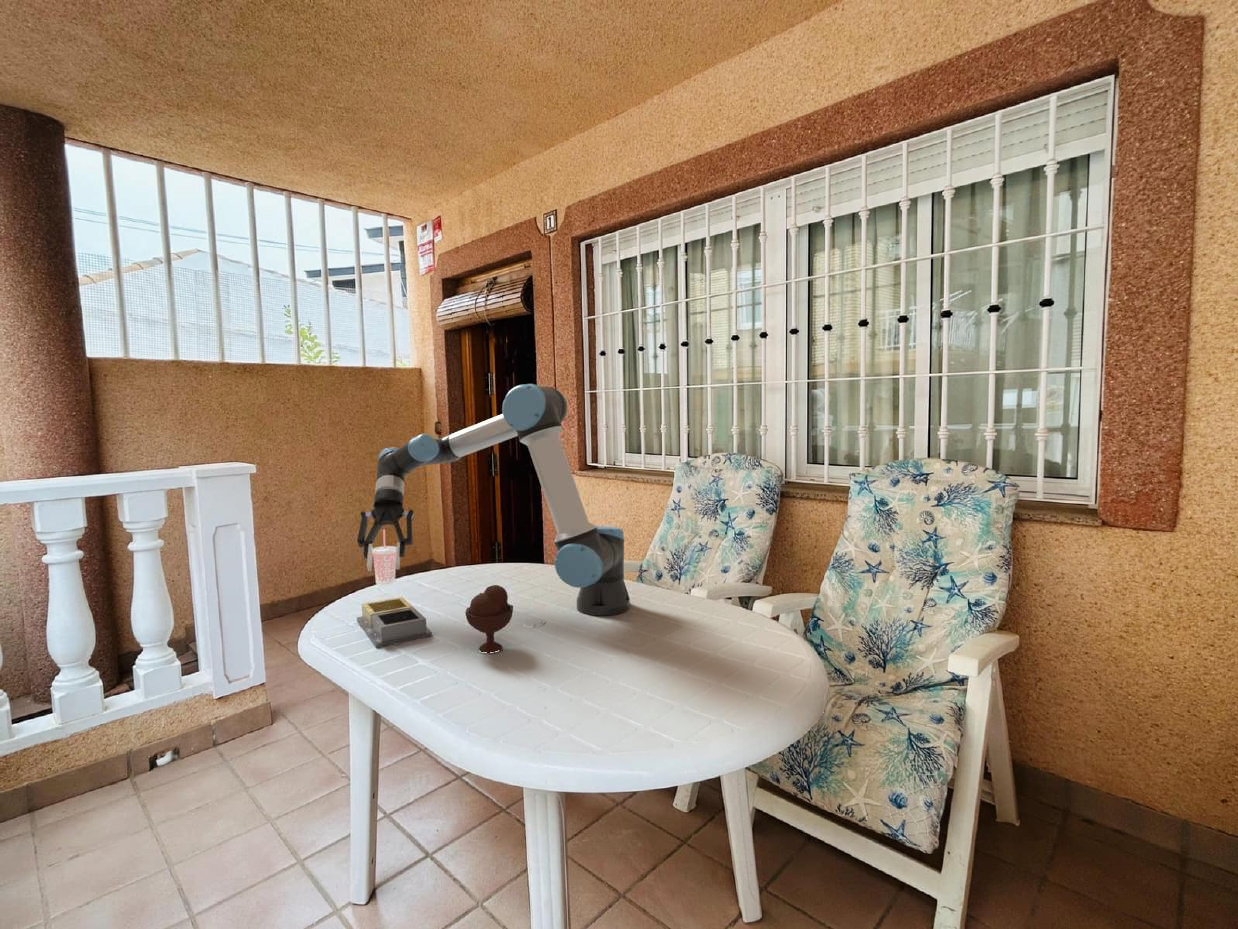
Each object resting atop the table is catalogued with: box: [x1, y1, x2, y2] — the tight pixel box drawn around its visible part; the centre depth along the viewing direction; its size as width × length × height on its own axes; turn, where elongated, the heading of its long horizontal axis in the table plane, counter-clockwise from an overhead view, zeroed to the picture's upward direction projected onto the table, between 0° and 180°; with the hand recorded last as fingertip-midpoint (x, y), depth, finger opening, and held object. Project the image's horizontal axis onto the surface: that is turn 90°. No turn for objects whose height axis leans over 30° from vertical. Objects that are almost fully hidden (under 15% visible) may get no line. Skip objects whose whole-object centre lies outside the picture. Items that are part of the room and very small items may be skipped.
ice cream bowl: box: [464, 584, 514, 653], centre depth 133 cm, size 11×11×15 cm
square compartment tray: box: [356, 596, 433, 649], centre depth 147 cm, size 22×13×4 cm, turn 35°
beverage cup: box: [372, 528, 397, 586], centre depth 151 cm, size 6×6×14 cm
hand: (383, 567), depth 147 cm, fingers closed on beverage cup, 6 cm apart
